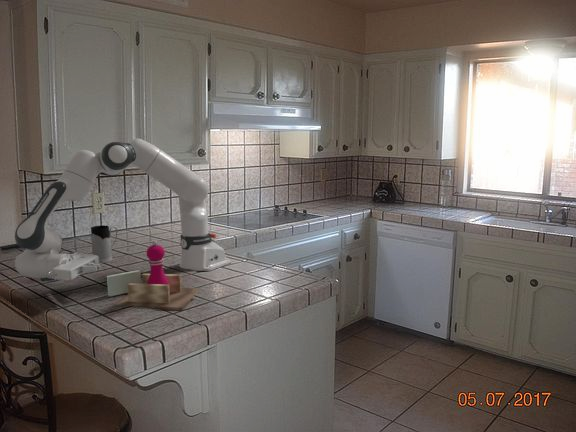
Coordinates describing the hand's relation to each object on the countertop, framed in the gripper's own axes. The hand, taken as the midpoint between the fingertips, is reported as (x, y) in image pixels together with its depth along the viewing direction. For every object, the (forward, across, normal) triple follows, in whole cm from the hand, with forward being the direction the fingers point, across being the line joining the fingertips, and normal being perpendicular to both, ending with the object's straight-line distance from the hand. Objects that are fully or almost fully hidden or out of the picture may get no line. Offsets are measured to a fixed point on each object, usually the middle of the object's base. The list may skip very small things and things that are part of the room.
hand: (98, 267), depth 183 cm
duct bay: (+20, +1, +11) cm, 23 cm away
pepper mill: (+21, 0, +10) cm, 24 cm away
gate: (+8, +3, +10) cm, 13 cm away
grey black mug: (-23, +51, +11) cm, 57 cm away
